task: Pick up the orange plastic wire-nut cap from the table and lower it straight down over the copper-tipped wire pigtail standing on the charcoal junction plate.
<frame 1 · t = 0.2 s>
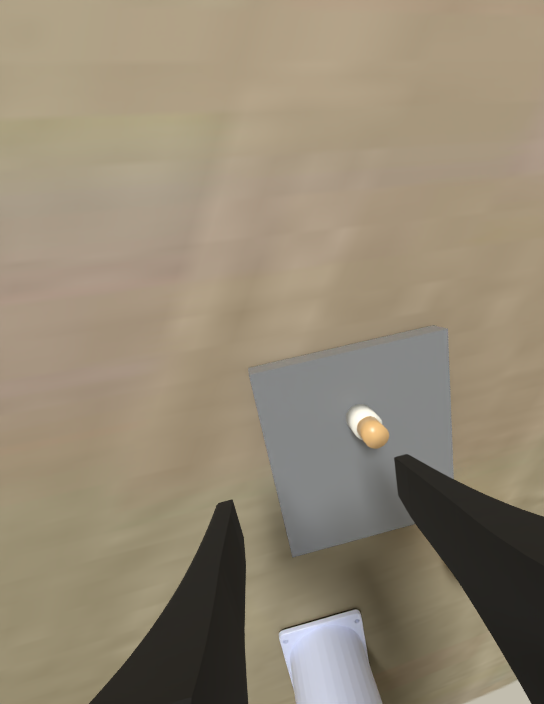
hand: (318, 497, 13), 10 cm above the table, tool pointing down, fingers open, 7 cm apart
junction plate: (356, 441, 24), on the table
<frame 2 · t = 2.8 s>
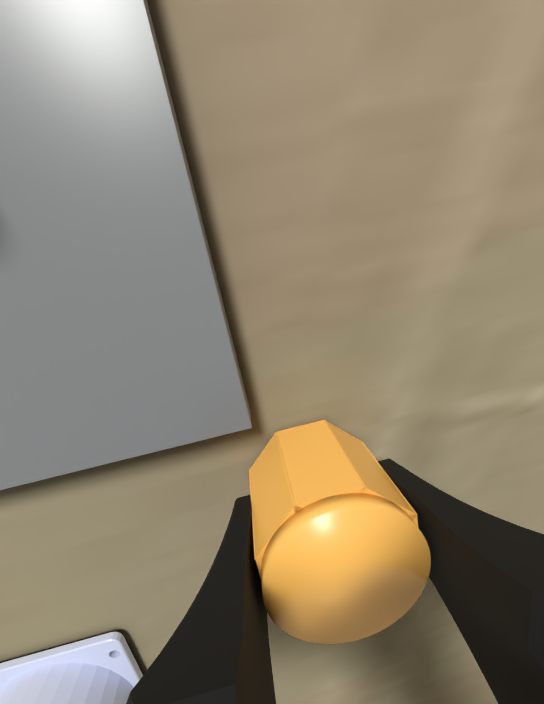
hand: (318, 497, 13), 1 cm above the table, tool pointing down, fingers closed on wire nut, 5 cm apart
wire nut: (310, 475, 14), on the table, touching gripper
junction plate: (1, 253, 10), on the table
when the fingers open (4 cm above the table, at t = 7.0 s): wire nut stays where it is, resting on junction plate.
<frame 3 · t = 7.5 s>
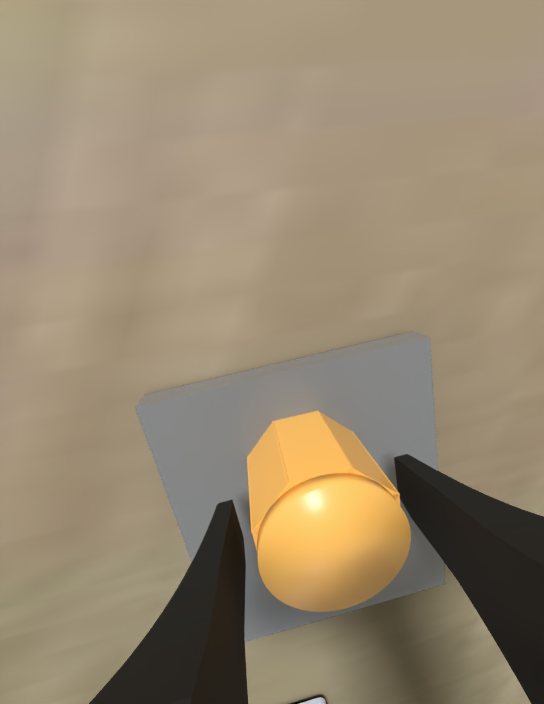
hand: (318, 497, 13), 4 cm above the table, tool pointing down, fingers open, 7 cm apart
wire nut: (304, 463, 15), point 1 cm above the table, touching junction plate
junction plate: (308, 490, 17), on the table
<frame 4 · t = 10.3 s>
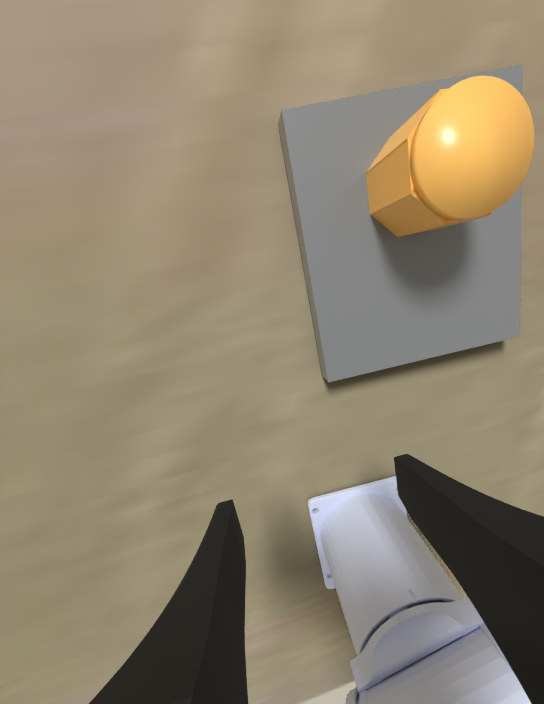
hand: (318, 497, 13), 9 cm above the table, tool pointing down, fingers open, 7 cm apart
wire nut: (411, 185, 18), point 1 cm above the table, touching junction plate
junction plate: (403, 241, 20), on the table
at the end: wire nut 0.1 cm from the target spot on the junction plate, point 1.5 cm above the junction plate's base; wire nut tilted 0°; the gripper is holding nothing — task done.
